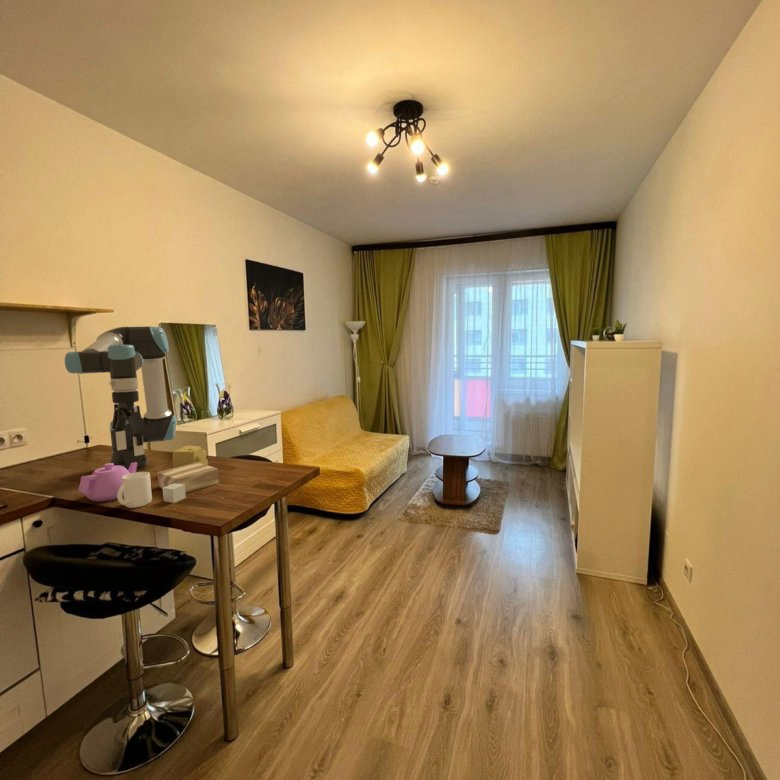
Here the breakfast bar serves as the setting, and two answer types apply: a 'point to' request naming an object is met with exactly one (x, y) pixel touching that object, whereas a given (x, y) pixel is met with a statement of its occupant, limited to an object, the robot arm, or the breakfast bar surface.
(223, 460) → the breakfast bar surface
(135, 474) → the mug
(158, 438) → the robot arm
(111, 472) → the teapot
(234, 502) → the breakfast bar surface
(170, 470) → the oak block
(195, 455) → the cheese
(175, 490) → the beige block
